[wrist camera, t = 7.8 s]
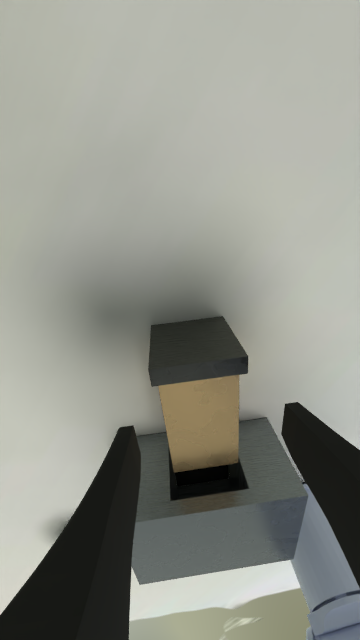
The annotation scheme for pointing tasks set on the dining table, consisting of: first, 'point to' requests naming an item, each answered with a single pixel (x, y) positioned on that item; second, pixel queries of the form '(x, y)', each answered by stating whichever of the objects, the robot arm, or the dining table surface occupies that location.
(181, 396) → the sliding drawer
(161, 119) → the dining table surface
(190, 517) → the housing
